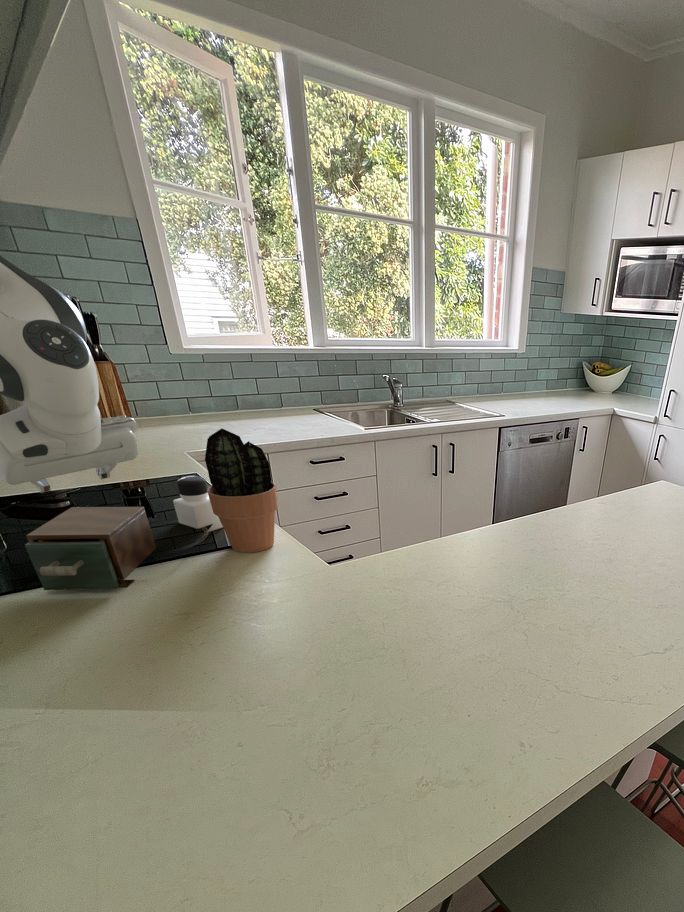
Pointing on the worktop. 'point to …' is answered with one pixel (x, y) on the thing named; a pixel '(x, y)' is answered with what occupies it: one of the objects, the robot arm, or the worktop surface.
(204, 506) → the medicine bottle
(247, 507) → the potted plant
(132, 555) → the cabinet
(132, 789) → the worktop surface
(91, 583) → the drawer
